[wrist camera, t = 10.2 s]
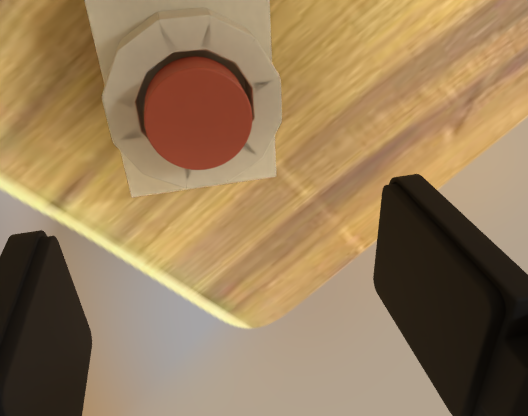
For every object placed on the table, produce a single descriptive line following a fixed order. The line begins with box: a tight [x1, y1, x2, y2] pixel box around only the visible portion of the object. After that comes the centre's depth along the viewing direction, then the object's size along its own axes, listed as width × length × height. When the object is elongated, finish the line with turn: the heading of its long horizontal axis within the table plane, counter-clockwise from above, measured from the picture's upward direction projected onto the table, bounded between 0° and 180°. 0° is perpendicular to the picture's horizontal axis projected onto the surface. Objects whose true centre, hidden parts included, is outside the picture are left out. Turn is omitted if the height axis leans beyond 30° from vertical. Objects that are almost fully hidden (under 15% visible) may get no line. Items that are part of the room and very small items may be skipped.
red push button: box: [144, 56, 252, 170], centre depth 18 cm, size 4×4×2 cm
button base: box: [84, 0, 282, 197], centre depth 20 cm, size 9×7×4 cm
